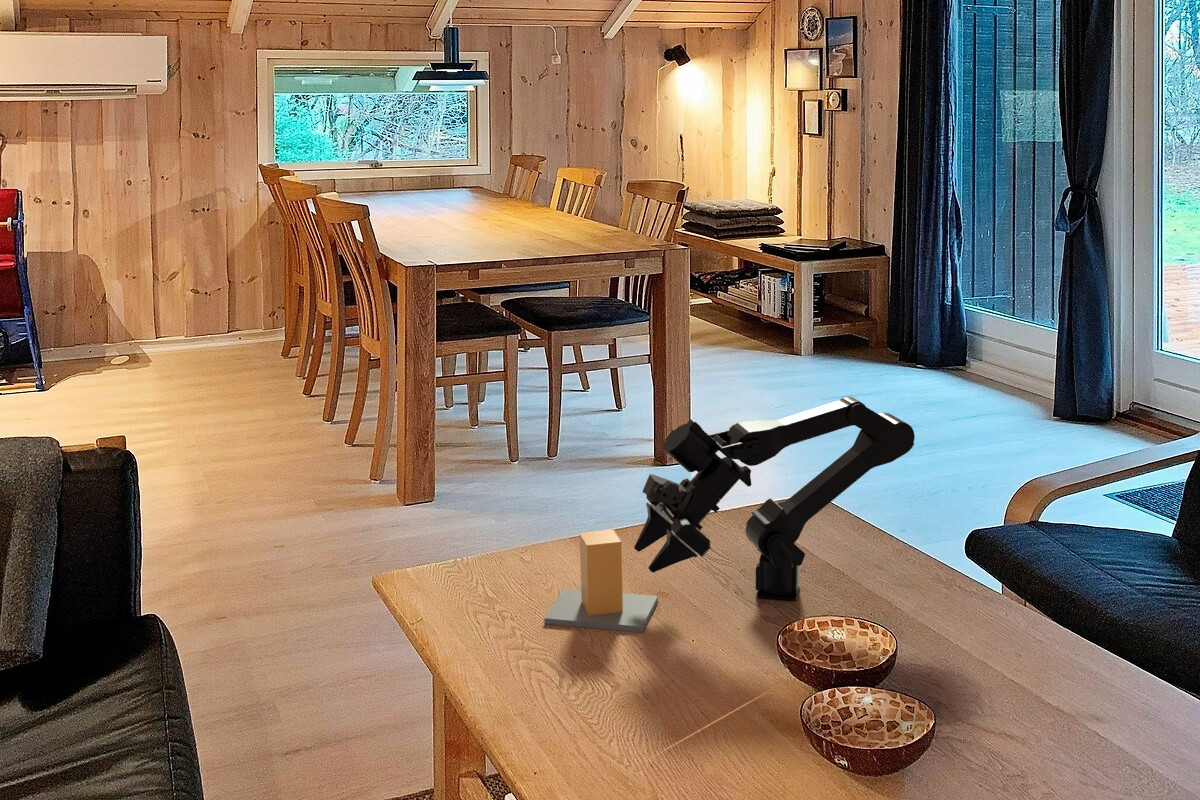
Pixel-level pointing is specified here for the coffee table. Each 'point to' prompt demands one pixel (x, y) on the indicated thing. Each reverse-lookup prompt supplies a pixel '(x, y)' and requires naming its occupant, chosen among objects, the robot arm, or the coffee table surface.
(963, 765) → the coffee table surface
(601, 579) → the tall amber pillar
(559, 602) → the post board
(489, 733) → the coffee table surface
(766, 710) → the coffee table surface
